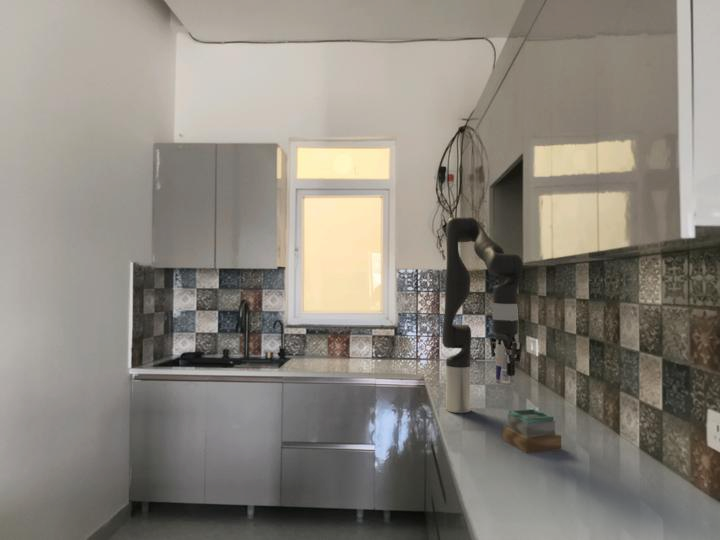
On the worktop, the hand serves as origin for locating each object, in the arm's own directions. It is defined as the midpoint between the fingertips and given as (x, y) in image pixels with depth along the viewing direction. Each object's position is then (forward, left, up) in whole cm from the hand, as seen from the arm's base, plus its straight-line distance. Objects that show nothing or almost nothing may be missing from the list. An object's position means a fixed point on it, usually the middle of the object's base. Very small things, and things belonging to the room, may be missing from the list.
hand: (505, 373), depth 137 cm
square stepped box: (+2, +8, -21) cm, 23 cm away
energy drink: (0, 0, -3) cm, 3 cm away
